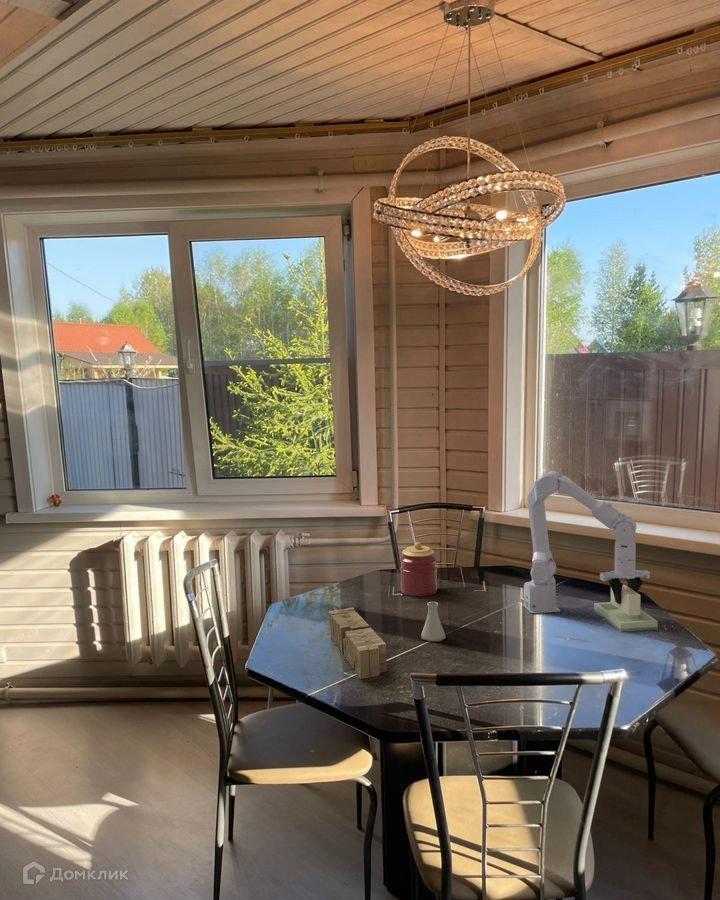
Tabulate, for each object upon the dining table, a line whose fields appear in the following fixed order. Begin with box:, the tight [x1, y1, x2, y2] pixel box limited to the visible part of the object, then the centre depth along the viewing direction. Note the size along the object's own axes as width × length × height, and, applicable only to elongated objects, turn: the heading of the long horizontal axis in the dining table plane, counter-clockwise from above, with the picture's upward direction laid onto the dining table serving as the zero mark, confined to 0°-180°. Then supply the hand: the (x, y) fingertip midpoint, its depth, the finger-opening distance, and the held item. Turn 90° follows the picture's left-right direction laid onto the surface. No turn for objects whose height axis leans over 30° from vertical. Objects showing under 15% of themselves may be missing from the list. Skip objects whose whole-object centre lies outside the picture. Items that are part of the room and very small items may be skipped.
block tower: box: [328, 607, 388, 680], centre depth 171 cm, size 8×8×29 cm
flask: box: [420, 601, 447, 642], centre depth 180 cm, size 7×7×10 cm
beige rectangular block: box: [610, 583, 641, 615], centre depth 188 cm, size 4×11×6 cm, turn 5°
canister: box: [399, 541, 438, 597], centre depth 221 cm, size 13×13×18 cm
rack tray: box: [593, 601, 659, 633], centre depth 189 cm, size 11×17×2 cm, turn 5°
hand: (624, 602), depth 189 cm, fingers closed on beige rectangular block, 3 cm apart
